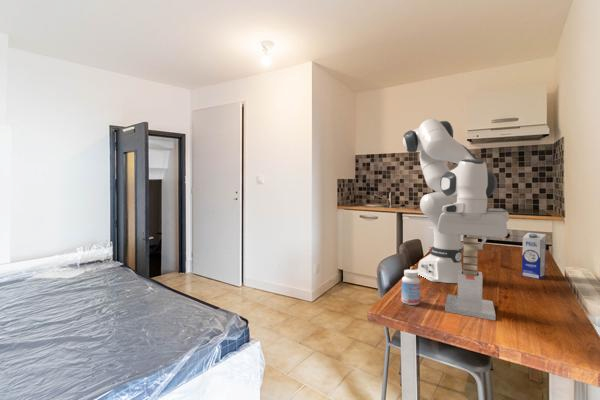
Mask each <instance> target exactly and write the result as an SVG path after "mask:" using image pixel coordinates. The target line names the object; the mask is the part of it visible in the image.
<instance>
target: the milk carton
mask: <svg viewBox="0 0 600 400" xmlns="http://www.w3.org/2000/svg"><path fill="white" fill-rule="evenodd" d="M546 248H547V234H545V233H536V232H534V233H533V232H527V233H526V234H524V236H522V254H521V258H522V260H521V277H525V278H532V279H536V280H541V279H544V278H546Z"/></svg>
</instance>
